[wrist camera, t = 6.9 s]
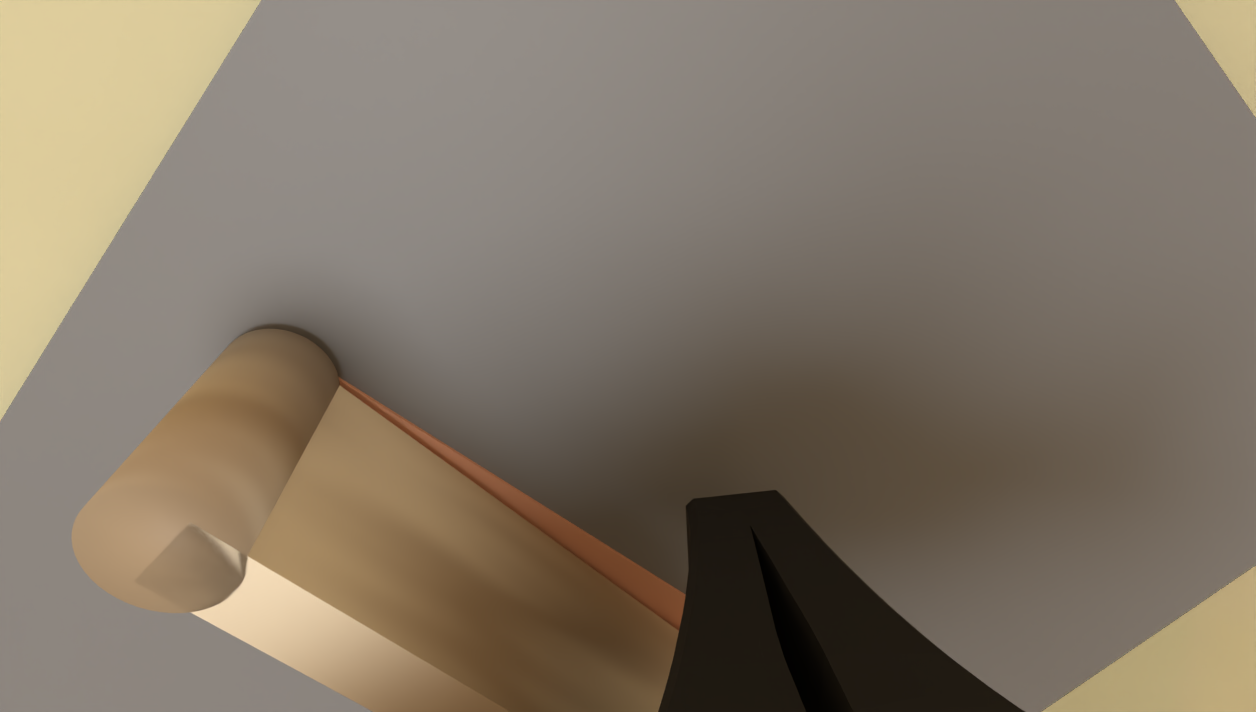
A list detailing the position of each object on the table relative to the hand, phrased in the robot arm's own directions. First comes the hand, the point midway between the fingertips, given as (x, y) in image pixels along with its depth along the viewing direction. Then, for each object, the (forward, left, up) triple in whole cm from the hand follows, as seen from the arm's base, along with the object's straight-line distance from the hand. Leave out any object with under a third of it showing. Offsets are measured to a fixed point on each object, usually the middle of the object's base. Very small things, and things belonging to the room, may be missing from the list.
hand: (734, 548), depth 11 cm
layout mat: (0, +3, -2) cm, 3 cm away
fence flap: (+3, +3, -1) cm, 4 cm away
